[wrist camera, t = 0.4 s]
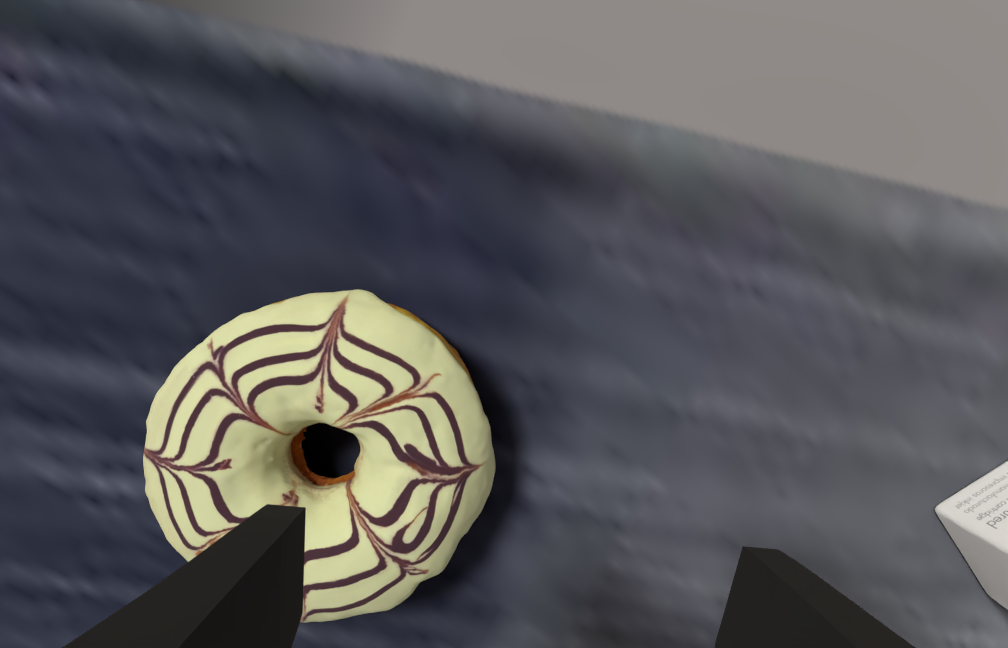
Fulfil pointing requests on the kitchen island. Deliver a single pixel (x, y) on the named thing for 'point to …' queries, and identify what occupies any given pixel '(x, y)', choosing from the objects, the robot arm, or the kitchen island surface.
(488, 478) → the decorated donut
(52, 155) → the kitchen island surface
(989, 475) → the ink cartridge box
